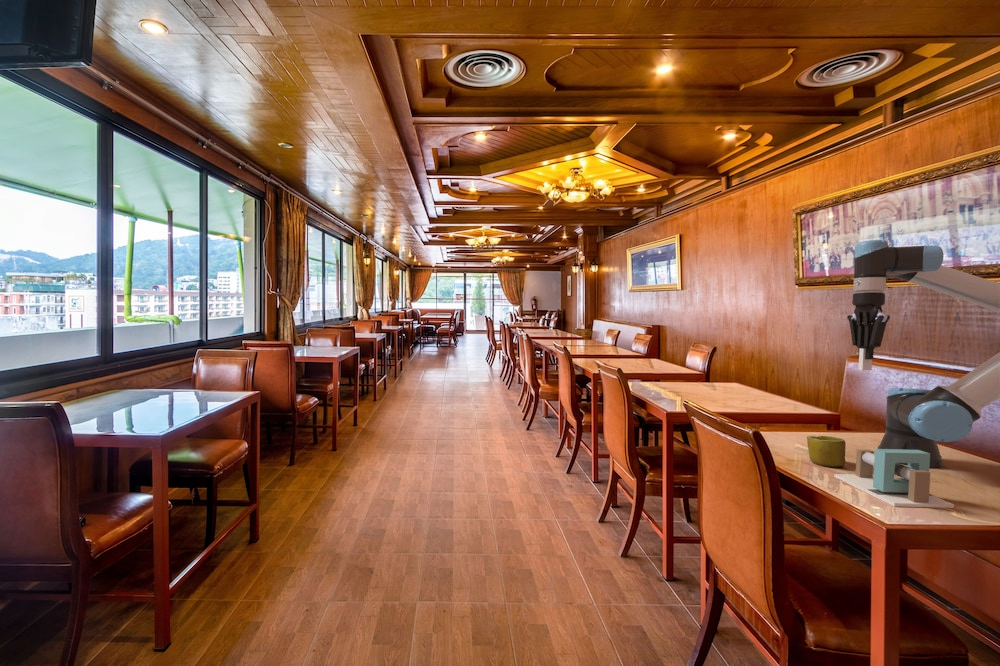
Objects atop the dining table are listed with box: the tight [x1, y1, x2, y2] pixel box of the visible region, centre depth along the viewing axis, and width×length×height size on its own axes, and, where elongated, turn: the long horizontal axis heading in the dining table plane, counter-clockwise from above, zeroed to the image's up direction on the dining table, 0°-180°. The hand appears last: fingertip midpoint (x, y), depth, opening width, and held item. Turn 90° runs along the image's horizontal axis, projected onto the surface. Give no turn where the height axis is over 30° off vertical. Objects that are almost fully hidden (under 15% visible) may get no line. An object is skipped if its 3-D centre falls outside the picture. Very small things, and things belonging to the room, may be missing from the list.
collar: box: [873, 448, 930, 493], centre depth 109 cm, size 3×11×10 cm, turn 89°
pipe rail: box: [833, 449, 955, 509], centre depth 112 cm, size 19×14×8 cm
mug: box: [806, 434, 846, 468], centre depth 134 cm, size 12×10×10 cm
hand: (864, 369), depth 131 cm, fingers closed
